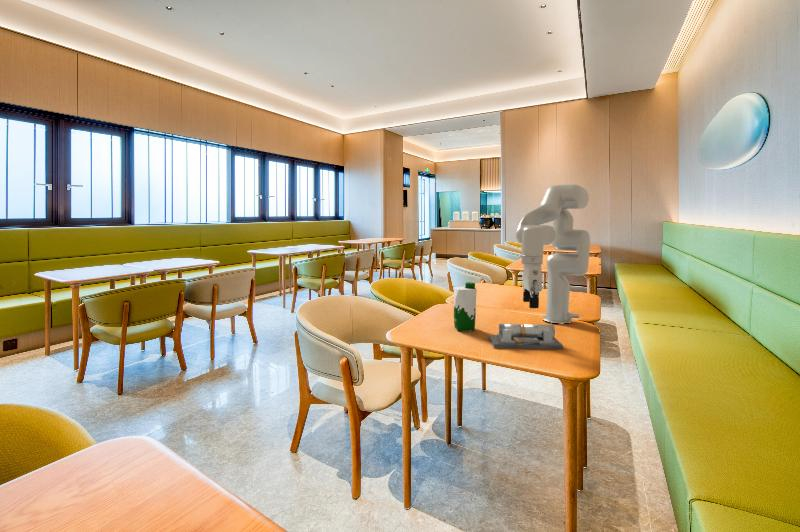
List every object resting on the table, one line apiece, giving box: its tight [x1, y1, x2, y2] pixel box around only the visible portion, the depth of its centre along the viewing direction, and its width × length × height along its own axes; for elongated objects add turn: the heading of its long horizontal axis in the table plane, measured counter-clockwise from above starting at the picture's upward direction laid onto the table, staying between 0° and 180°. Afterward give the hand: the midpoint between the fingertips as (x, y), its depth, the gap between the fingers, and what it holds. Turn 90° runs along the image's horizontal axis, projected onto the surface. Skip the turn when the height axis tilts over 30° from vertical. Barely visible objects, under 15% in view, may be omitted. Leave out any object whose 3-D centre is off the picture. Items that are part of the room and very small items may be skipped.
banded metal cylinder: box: [503, 323, 556, 338], centre depth 155 cm, size 18×5×5 cm, turn 86°
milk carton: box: [453, 281, 477, 332], centre depth 174 cm, size 9×9×20 cm
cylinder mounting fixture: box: [488, 323, 564, 351], centre depth 155 cm, size 25×12×6 cm, turn 86°
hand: (530, 304), depth 154 cm, fingers open, 9 cm apart
